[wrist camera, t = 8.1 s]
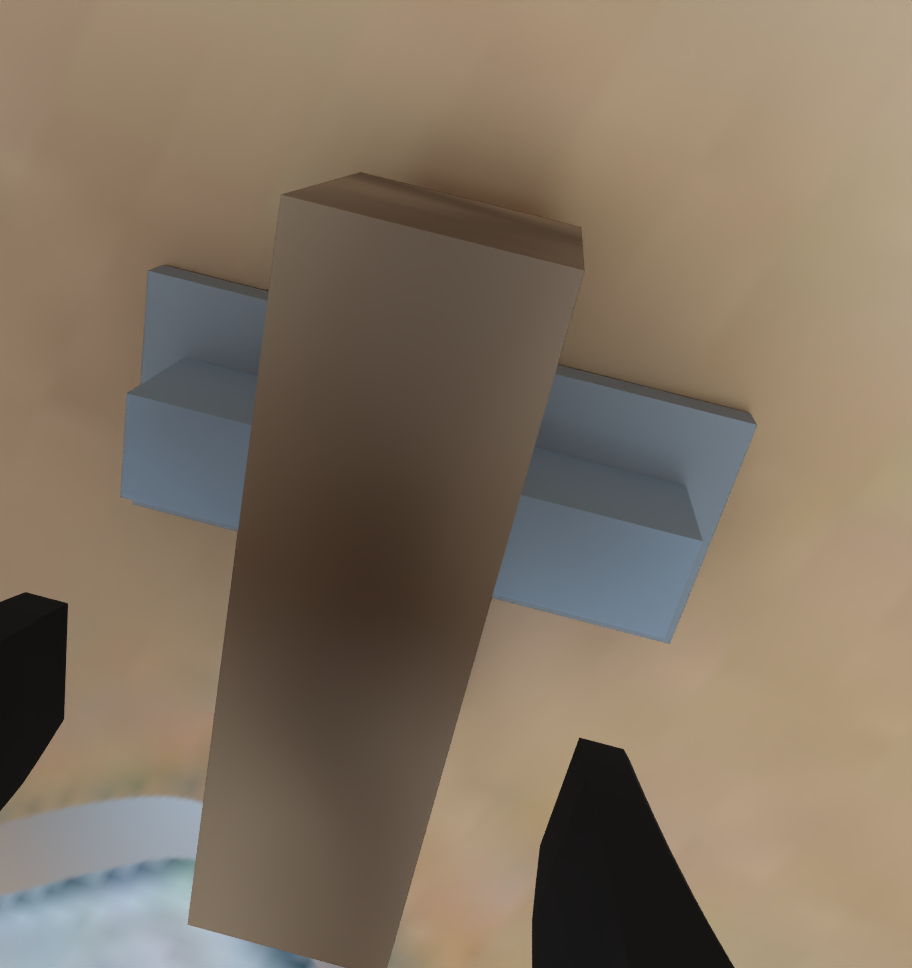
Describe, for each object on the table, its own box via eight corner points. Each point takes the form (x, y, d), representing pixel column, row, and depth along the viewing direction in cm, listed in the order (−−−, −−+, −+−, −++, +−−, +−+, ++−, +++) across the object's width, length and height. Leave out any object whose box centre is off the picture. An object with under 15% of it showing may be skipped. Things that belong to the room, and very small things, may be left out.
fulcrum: (147, 491, 22) (73, 556, 19) (163, 264, 20) (83, 295, 17) (666, 626, 22) (682, 716, 19) (750, 413, 19) (785, 474, 16)
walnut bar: (263, 764, 21) (187, 924, 17) (360, 172, 15) (281, 194, 11) (421, 807, 21) (383, 977, 17) (581, 227, 15) (584, 270, 11)
